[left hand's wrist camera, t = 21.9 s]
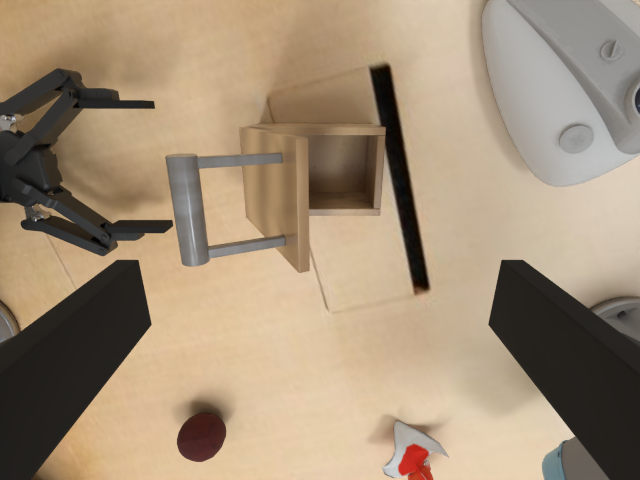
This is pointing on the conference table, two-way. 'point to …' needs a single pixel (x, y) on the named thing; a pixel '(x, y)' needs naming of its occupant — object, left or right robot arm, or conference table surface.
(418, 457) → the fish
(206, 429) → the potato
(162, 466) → the conference table surface
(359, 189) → the chest
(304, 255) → the lid
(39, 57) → the conference table surface
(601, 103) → the projector
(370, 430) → the conference table surface
